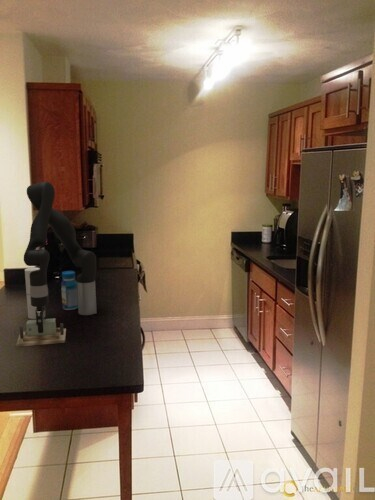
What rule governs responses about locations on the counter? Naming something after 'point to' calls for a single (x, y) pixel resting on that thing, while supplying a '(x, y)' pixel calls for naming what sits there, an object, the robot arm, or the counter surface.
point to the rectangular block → (48, 327)
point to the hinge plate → (40, 342)
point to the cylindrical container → (30, 308)
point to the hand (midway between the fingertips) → (41, 329)
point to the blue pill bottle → (69, 291)
